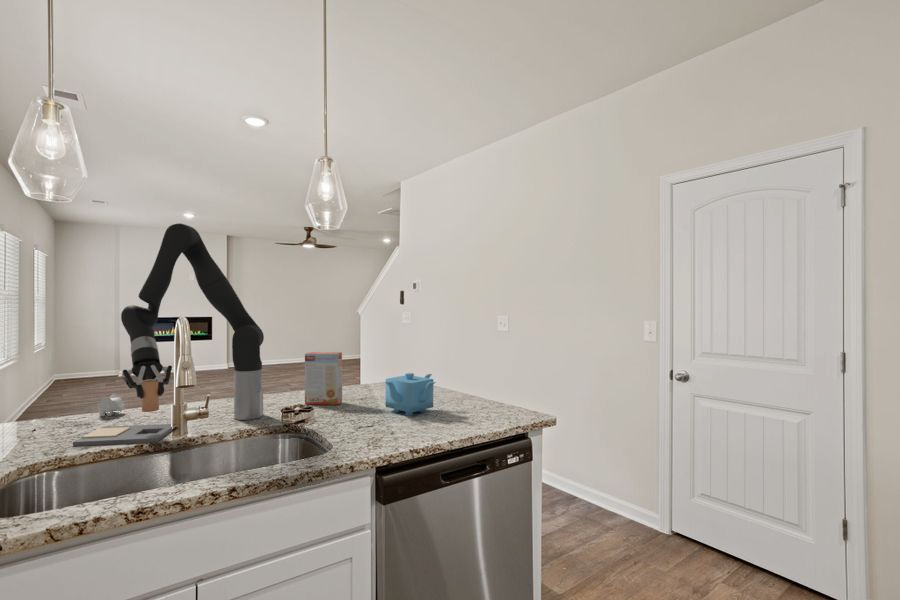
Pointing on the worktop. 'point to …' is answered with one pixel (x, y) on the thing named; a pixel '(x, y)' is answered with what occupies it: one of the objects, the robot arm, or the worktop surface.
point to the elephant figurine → (110, 405)
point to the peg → (150, 396)
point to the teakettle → (409, 393)
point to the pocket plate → (124, 435)
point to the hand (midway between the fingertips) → (151, 395)
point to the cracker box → (323, 378)
